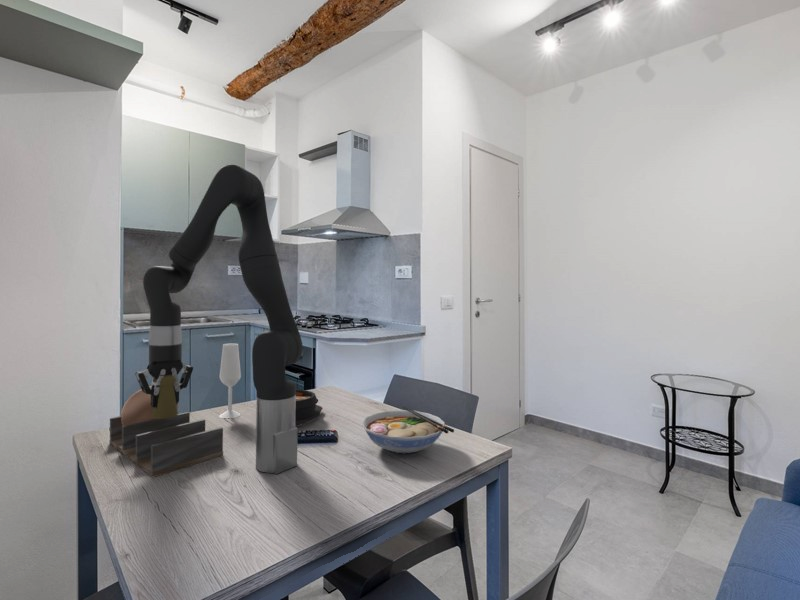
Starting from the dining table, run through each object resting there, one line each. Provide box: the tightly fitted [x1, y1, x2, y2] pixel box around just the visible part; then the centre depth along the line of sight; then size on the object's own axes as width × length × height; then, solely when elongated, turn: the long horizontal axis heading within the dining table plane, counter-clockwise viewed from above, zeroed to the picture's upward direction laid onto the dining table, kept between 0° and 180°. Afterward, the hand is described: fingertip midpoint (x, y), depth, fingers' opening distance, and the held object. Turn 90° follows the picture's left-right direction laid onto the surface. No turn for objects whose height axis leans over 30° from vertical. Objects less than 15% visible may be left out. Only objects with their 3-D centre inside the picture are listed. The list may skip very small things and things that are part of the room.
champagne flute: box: [218, 342, 242, 420], centre depth 137 cm, size 7×7×24 cm
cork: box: [152, 375, 179, 419], centre depth 108 cm, size 6×6×11 cm
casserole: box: [295, 389, 323, 426], centre depth 134 cm, size 25×19×8 cm
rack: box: [109, 385, 224, 478], centre depth 108 cm, size 30×16×15 cm, turn 51°
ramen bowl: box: [361, 406, 455, 455], centre depth 112 cm, size 25×23×8 cm
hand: (165, 406), depth 108 cm, fingers closed on cork, 3 cm apart
